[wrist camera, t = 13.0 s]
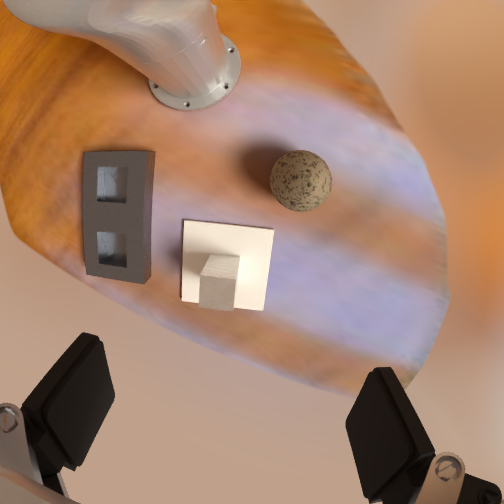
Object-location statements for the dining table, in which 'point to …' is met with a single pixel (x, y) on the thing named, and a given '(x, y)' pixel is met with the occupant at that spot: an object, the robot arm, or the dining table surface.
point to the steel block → (219, 282)
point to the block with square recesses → (118, 214)
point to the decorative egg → (300, 180)
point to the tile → (228, 243)
